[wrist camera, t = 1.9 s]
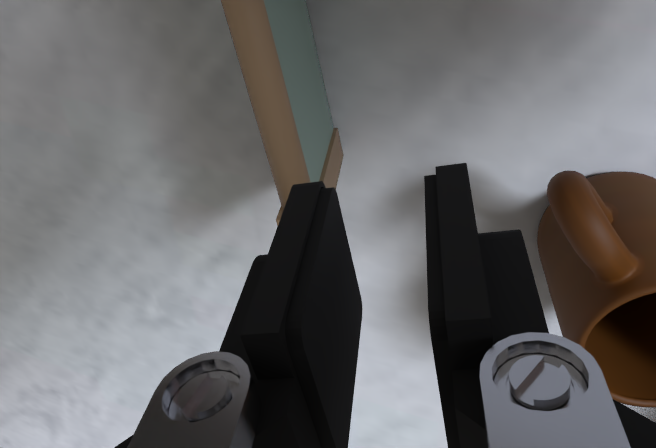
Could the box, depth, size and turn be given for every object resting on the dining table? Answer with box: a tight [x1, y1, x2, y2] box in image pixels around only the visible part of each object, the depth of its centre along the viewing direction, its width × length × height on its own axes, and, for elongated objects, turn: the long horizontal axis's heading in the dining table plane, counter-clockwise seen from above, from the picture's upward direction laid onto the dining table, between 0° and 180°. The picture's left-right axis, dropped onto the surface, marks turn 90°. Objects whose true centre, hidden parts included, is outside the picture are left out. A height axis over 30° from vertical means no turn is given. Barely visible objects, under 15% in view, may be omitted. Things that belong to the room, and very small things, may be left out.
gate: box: [221, 0, 343, 225], centre depth 23 cm, size 15×2×8 cm, turn 12°
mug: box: [537, 171, 656, 407], centre depth 27 cm, size 12×8×9 cm, turn 40°
